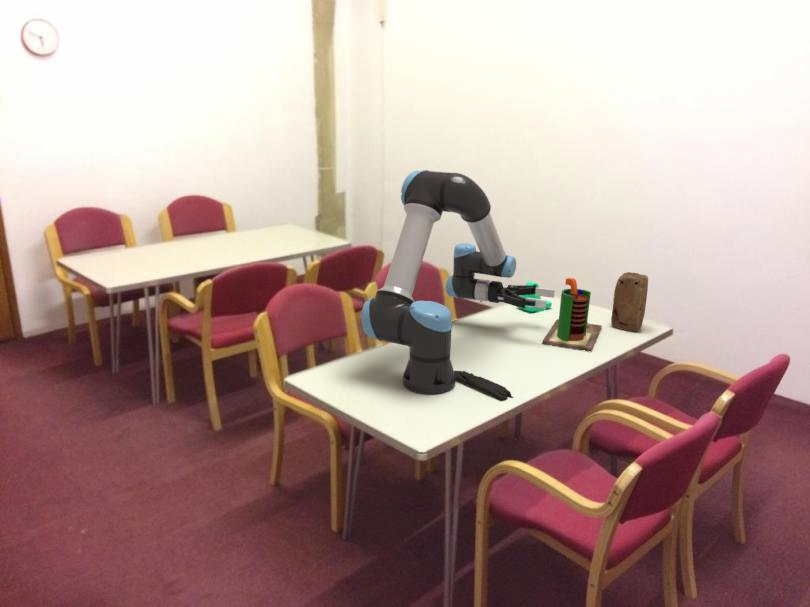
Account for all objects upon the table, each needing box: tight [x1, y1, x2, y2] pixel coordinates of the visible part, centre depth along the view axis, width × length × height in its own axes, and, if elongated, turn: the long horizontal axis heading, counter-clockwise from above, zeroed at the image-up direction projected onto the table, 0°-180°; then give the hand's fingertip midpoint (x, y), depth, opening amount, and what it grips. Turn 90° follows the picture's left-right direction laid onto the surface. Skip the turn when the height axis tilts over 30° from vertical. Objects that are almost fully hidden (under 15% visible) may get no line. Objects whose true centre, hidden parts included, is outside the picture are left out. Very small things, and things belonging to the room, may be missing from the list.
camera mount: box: [518, 281, 553, 313], centre depth 261 cm, size 12×8×10 cm, turn 126°
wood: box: [454, 370, 514, 402], centre depth 193 cm, size 22×7×3 cm, turn 41°
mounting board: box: [541, 318, 603, 352], centre depth 233 cm, size 16×25×3 cm, turn 157°
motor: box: [557, 277, 592, 341], centre depth 226 cm, size 10×9×20 cm
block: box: [610, 271, 649, 332], centre depth 240 cm, size 11×8×20 cm
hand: (550, 298), depth 228 cm, fingers open, 13 cm apart
